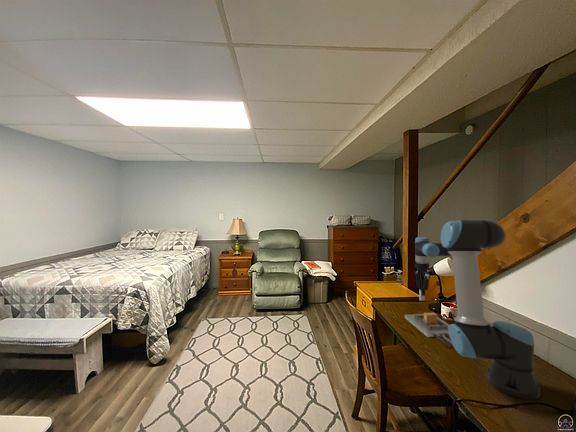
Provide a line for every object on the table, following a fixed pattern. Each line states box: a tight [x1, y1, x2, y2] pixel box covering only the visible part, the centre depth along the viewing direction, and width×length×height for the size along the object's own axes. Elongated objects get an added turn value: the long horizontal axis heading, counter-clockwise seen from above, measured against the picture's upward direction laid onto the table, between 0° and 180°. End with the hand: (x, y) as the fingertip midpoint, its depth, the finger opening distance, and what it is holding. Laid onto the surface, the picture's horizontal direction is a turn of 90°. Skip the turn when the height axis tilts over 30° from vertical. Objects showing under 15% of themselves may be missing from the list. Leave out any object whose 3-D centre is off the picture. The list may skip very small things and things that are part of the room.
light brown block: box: [423, 312, 438, 324], centre depth 145 cm, size 3×6×5 cm, turn 92°
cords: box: [434, 335, 453, 349], centre depth 128 cm, size 11×8×1 cm
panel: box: [404, 313, 451, 338], centre depth 145 cm, size 24×18×4 cm
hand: (422, 300), depth 153 cm, fingers closed
